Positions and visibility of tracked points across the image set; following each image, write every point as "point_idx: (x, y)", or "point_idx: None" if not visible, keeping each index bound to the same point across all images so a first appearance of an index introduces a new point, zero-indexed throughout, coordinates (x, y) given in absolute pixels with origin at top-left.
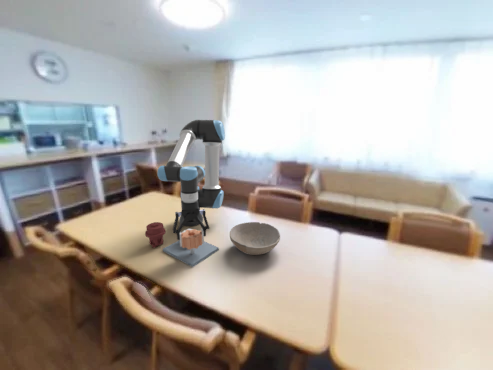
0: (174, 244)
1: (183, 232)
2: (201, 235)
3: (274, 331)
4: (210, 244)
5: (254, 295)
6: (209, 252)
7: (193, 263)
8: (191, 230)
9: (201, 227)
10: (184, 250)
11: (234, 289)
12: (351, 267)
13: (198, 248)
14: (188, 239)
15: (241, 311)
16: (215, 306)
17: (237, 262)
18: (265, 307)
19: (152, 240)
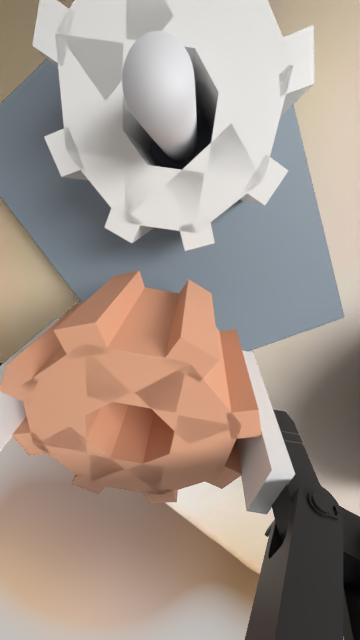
0: (48, 107)
1: (96, 20)
2: (225, 477)
3: (243, 559)
4: (322, 254)
5: (269, 518)
6: (261, 340)
7: None
8: (144, 364)
9: (255, 594)
10: (124, 250)
11: (236, 493)
12: None
13: (219, 269)
14: (89, 482)
15: (215, 527)
16: (169, 505)
17: (335, 424)
18: (266, 538)
19: None
